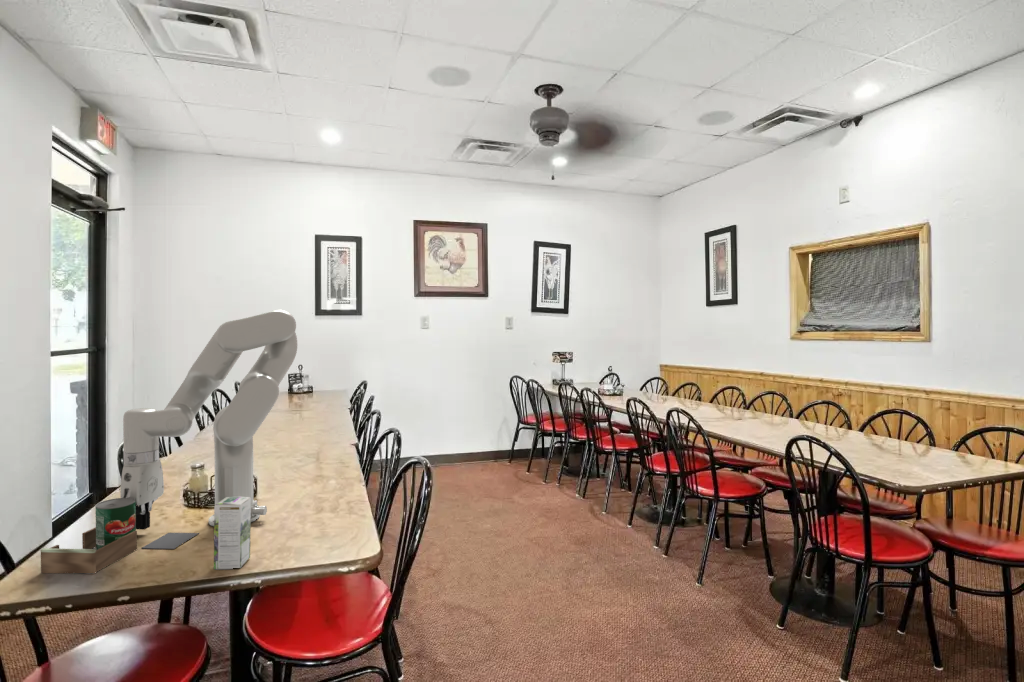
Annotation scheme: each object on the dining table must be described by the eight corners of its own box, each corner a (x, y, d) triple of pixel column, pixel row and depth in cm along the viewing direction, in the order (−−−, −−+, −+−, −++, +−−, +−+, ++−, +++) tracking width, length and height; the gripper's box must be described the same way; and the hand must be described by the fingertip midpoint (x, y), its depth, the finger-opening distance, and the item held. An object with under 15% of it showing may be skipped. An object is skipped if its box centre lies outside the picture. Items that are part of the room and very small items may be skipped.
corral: (167, 532, 142) (167, 513, 142) (93, 573, 118) (93, 550, 118) (123, 531, 142) (123, 512, 142) (40, 572, 118) (40, 549, 118)
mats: (199, 533, 141) (199, 533, 141) (149, 564, 123) (149, 563, 123) (110, 532, 142) (110, 531, 142) (47, 562, 123) (47, 561, 123)
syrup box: (224, 559, 126) (224, 496, 125) (251, 558, 126) (251, 495, 126) (213, 570, 120) (212, 504, 120) (241, 569, 120) (240, 503, 120)
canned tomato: (112, 541, 136) (112, 497, 136) (143, 541, 136) (143, 497, 136) (87, 554, 128) (86, 507, 128) (120, 554, 128) (119, 507, 128)
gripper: (134, 464, 133) (134, 539, 133) (174, 451, 148) (175, 518, 148) (104, 464, 133) (105, 539, 134) (147, 450, 148) (148, 518, 149)
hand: (141, 528), depth 141 cm, fingers closed
